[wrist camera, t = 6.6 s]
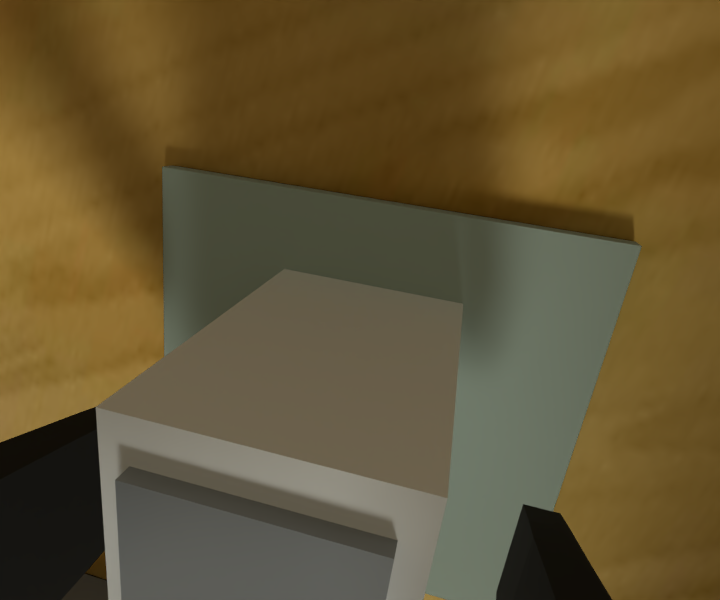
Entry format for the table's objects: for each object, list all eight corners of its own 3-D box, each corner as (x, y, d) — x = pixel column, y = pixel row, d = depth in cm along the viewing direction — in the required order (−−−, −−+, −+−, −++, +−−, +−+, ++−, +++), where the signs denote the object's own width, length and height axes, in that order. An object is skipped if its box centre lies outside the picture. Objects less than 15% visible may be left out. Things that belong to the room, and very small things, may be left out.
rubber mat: (635, 241, 10) (641, 245, 9) (515, 606, 13) (516, 620, 13) (172, 165, 11) (162, 166, 11) (174, 508, 15) (166, 518, 15)
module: (463, 303, 11) (446, 516, 5) (409, 553, 13) (355, 892, 7) (284, 269, 11) (80, 418, 5) (265, 512, 14) (109, 793, 8)
